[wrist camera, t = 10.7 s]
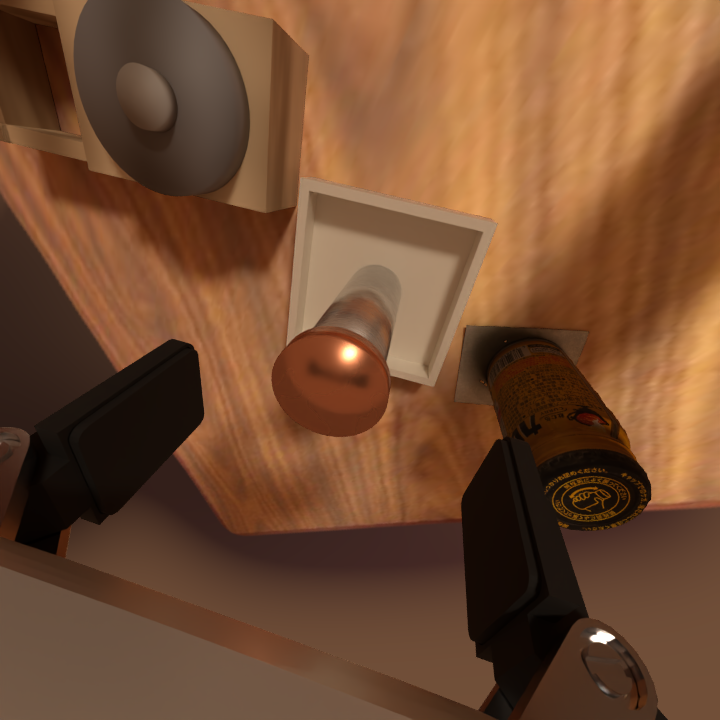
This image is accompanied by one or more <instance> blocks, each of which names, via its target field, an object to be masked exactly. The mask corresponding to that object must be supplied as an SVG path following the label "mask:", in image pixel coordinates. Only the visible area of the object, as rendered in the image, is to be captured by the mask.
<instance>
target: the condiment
mask: <svg viewBox="0 0 720 720" xmlns="http://www.w3.org/2000/svg"><path fill="white" fill-rule="evenodd" d="M588 333H589V332H587V331H571V330H553V329H536V328H510V327H496V326H469V325H467V326H466V332H465V337H464V343H463V349H462V355H461V361H460V368H459V372H458V380H457V386H456V393H455V399H454V402H461V403H474V404H485V405H492V406H493V405H494V409H495V412H496V414H497V419H498V422H499V425H500V428H501V432H502V435H503V438H504V437H506V436H508V437H512V438H515V439H519V440H522V441H525V442H528V443H529V445H530V447H531V451H532V454H533V457H534V460H535V463H536V466H537V470H538V473H539V476H540V479H541V482H542V486H543V489H544V492H545V495H546V497H547V498H548V499H549V500H550V502H551V504H552V506H553V509H554V512H555V515H556V518H557V521H558V524H559V527H563V528H567V529H571V530H581V531H584V530H586V531H594V530H604V529H609V528H612V527H616V526H619V525H622V524H624V523H627V522H628V521H630V520H632V519H633V518H635V517H636V516H638V515H639V514H641V513H642V511H643V510H644V508H646V506H647V504H648V502H649V501H650V500H651V484H650V481H649V479H648V477H647V473H646V472H645V471H644V469H643V468H642V467H641V466H640V465H639V464H638V462H637V460H636V457H635V456H634V454H633V453H632V451H630V441H629V439H628V436H627V434H626V431H625V430H624V429H623V428H622V426H621V425H620V423H619V421H618V420H617V419H616V417H615V416H614V414H613V413H612V411H610V410H609V409H608V408H607V407H606V405H605V404H604V402H603V401H602V400H601V398H600V396H599V394H598V393H597V392H596V391H595V390H594V389H593V388H592V387H591V385H590V384H589V382H588V381H587V380H586V379H585V377H584V376H583V375H582V374H581V372H580V371H579V369H578V368H577V367H576V364H577V362H578V359H579V357H580V355H581V352H582V350H583V347H584V345H585V342H586V339H587V336H588ZM506 340H507V342H504V341H506ZM480 380H482V381H483V382H484V383H481V382H480ZM485 383H486V384H487V386H485V385H484V384H485Z"/></svg>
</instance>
